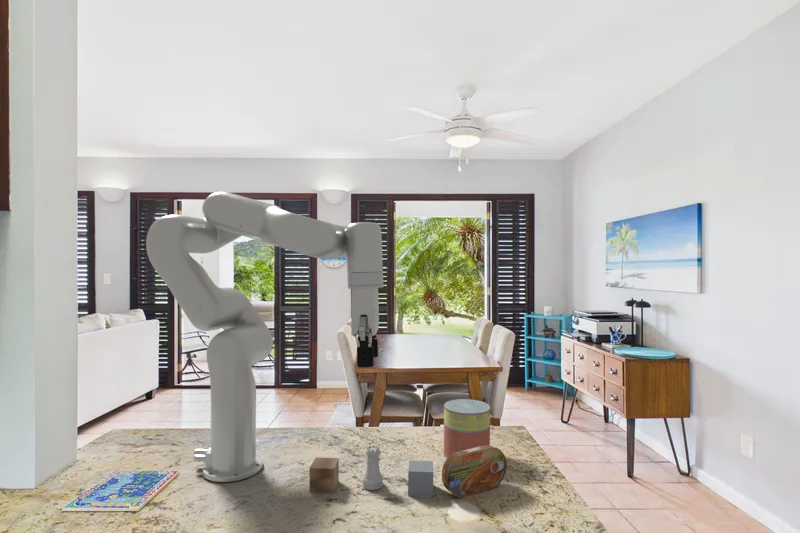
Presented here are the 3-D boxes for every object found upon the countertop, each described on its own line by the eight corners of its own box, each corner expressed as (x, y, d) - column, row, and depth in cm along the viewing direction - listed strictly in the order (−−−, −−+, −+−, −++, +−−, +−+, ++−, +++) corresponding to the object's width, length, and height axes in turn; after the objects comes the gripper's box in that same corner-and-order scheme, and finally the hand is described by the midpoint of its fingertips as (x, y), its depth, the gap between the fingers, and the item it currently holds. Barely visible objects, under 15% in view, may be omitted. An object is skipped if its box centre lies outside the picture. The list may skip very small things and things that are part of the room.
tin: (447, 502, 87) (448, 459, 87) (439, 494, 90) (439, 453, 90) (507, 485, 94) (508, 445, 94) (497, 478, 97) (498, 440, 97)
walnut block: (309, 492, 91) (309, 467, 91) (315, 480, 96) (315, 457, 96) (333, 493, 90) (334, 468, 90) (338, 481, 95) (338, 458, 95)
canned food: (500, 457, 108) (500, 407, 108) (465, 469, 101) (465, 416, 101) (467, 442, 117) (468, 396, 117) (434, 452, 111) (434, 403, 111)
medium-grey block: (408, 496, 89) (408, 471, 89) (408, 484, 94) (409, 460, 94) (433, 497, 89) (433, 472, 89) (432, 485, 94) (432, 461, 94)
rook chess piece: (380, 492, 91) (381, 453, 91) (359, 489, 92) (359, 450, 92) (385, 482, 95) (386, 444, 95) (365, 479, 96) (365, 442, 96)
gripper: (353, 280, 104) (356, 354, 104) (340, 283, 86) (343, 371, 86) (386, 279, 103) (388, 353, 103) (379, 281, 86) (382, 370, 86)
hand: (368, 361), depth 95 cm, fingers open, 9 cm apart
